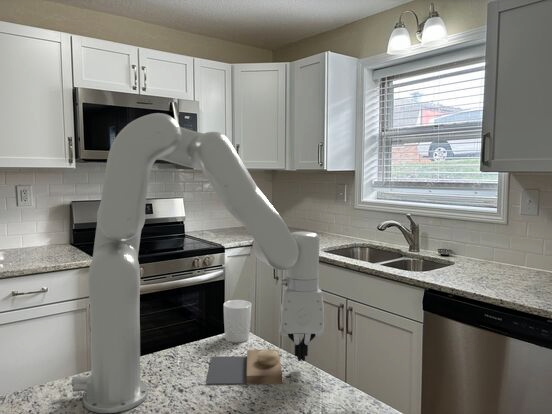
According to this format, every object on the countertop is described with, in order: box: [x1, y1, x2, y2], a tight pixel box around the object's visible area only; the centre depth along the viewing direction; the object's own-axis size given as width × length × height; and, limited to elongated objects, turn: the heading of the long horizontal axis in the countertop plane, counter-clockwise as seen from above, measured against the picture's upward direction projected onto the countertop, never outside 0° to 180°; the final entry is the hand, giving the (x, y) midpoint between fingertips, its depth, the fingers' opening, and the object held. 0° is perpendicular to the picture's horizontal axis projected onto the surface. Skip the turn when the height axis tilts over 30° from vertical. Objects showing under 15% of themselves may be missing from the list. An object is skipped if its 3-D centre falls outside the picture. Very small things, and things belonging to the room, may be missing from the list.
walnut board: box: [246, 349, 283, 385], centre depth 103 cm, size 8×14×2 cm, turn 3°
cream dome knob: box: [257, 349, 278, 366], centre depth 103 cm, size 5×5×2 cm
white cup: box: [223, 299, 252, 344], centre depth 122 cm, size 8×8×10 cm
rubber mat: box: [205, 355, 248, 386], centre depth 103 cm, size 9×14×1 cm, turn 3°
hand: (300, 358), depth 104 cm, fingers closed
